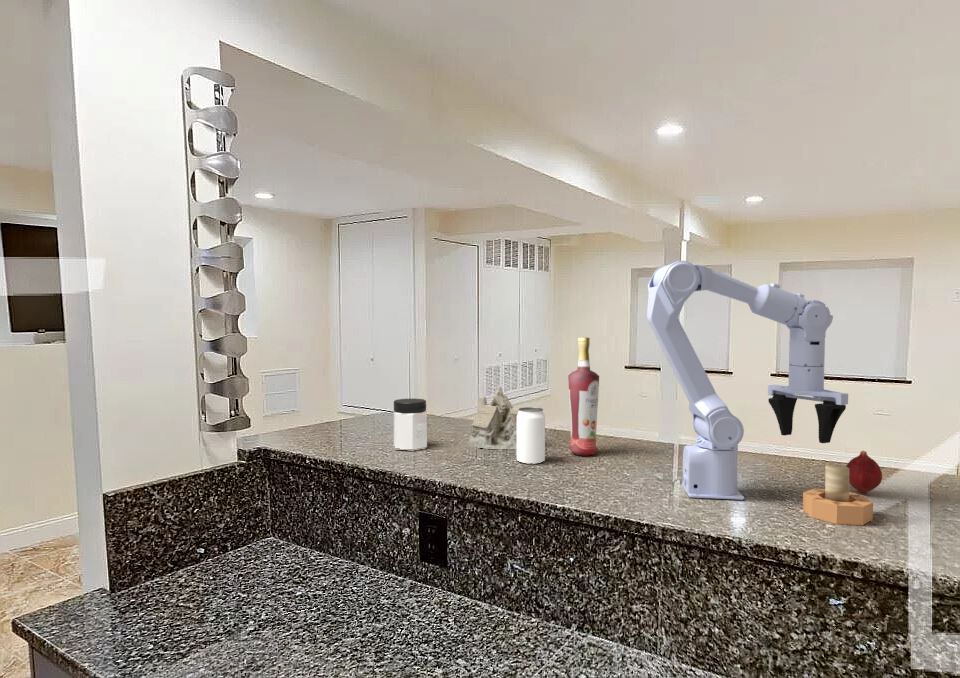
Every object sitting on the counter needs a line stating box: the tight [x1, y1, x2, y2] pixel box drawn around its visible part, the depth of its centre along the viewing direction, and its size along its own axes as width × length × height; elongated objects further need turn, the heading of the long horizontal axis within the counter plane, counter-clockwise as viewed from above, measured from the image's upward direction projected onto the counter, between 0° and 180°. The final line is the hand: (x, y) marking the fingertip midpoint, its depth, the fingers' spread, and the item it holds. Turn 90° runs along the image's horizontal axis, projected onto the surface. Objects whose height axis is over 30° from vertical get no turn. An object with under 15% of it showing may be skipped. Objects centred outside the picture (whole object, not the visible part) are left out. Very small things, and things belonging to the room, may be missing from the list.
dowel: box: [824, 464, 850, 502], centre depth 98 cm, size 3×3×8 cm
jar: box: [393, 398, 428, 449], centre depth 148 cm, size 9×8×12 cm
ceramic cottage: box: [467, 386, 519, 449], centre depth 151 cm, size 16×16×15 cm
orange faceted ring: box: [802, 488, 874, 526], centre depth 98 cm, size 9×9×3 cm
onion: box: [845, 450, 883, 495], centre depth 109 cm, size 6×6×8 cm
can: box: [516, 406, 546, 464], centre depth 134 cm, size 6×6×12 cm
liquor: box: [567, 336, 600, 457], centre depth 141 cm, size 7×7×28 cm
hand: (804, 438), depth 109 cm, fingers open, 7 cm apart
